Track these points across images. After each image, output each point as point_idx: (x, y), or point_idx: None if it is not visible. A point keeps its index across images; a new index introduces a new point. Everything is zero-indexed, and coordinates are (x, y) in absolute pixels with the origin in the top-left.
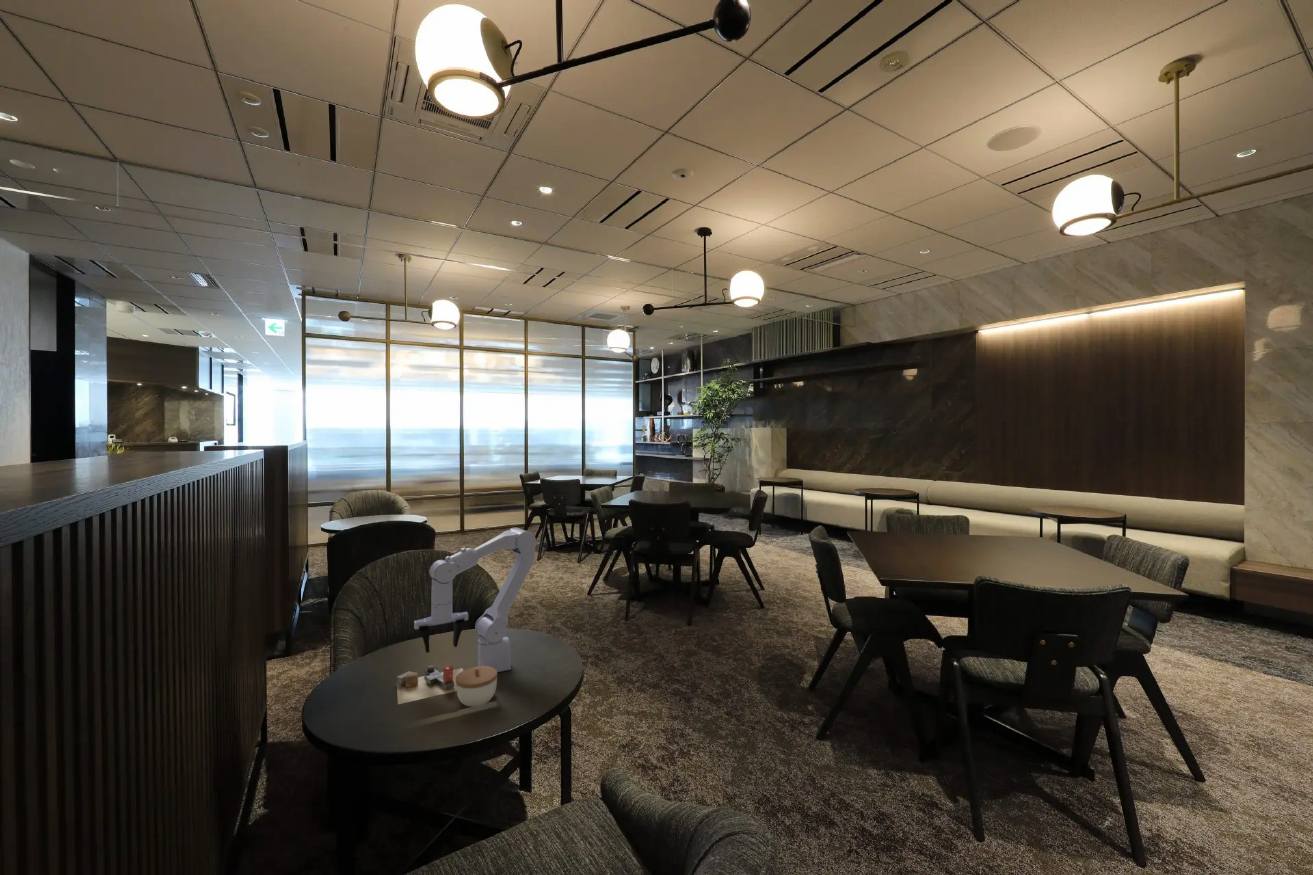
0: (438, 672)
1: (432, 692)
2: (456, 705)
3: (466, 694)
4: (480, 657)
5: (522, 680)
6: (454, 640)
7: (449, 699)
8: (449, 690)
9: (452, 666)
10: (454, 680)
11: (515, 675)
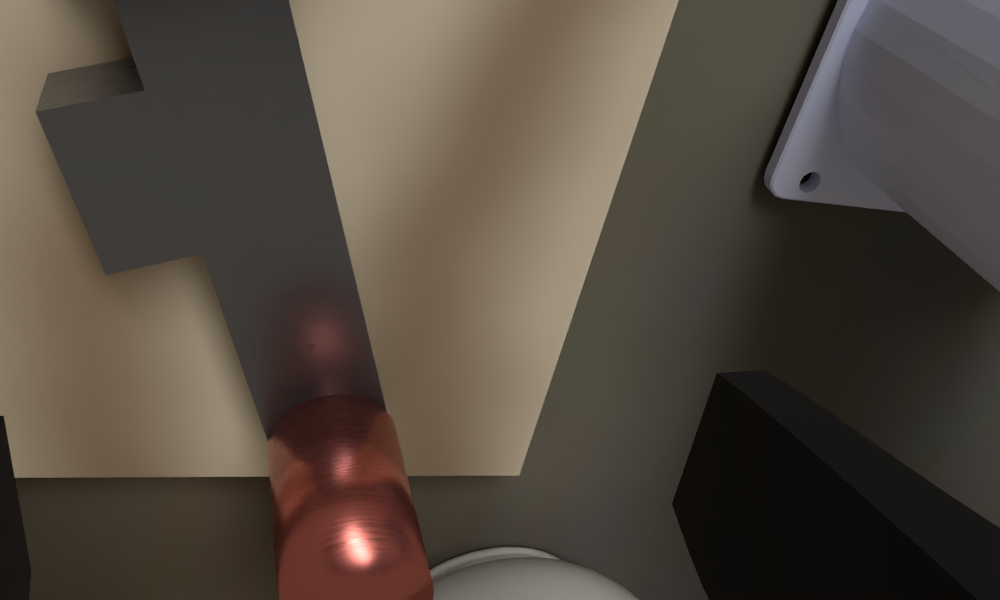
0: (282, 75)
1: (119, 390)
2: None
3: None
4: (958, 193)
5: (947, 456)
6: (759, 571)
7: None
8: None
9: (430, 583)
10: (455, 233)
11: (985, 349)
